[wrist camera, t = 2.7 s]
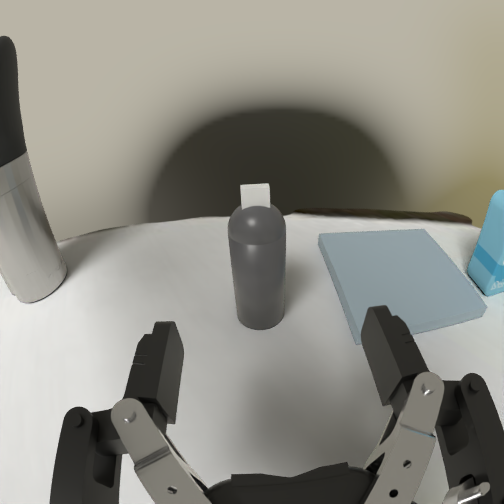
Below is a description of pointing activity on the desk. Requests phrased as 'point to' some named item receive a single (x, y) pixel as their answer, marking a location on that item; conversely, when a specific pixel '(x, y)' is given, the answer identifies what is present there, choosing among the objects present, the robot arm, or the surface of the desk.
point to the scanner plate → (398, 279)
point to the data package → (490, 249)
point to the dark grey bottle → (258, 258)
